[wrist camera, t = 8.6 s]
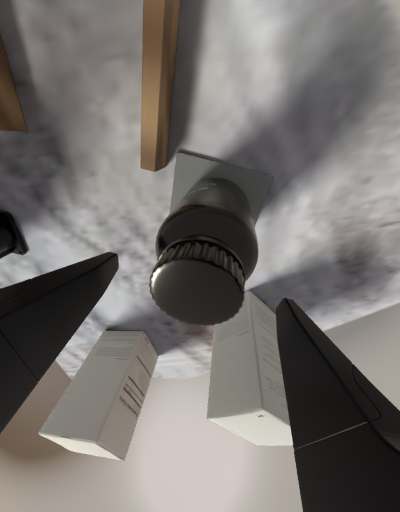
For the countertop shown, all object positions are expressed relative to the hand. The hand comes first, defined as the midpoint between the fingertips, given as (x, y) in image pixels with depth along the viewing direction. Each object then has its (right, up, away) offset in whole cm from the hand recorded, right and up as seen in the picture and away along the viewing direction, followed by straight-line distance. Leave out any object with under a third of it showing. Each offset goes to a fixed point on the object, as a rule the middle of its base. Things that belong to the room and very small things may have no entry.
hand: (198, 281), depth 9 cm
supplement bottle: (+2, +6, +9) cm, 11 cm away
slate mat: (+2, +6, +9) cm, 11 cm away
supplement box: (-14, -16, +27) cm, 34 cm away
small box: (+7, -7, +17) cm, 20 cm away
